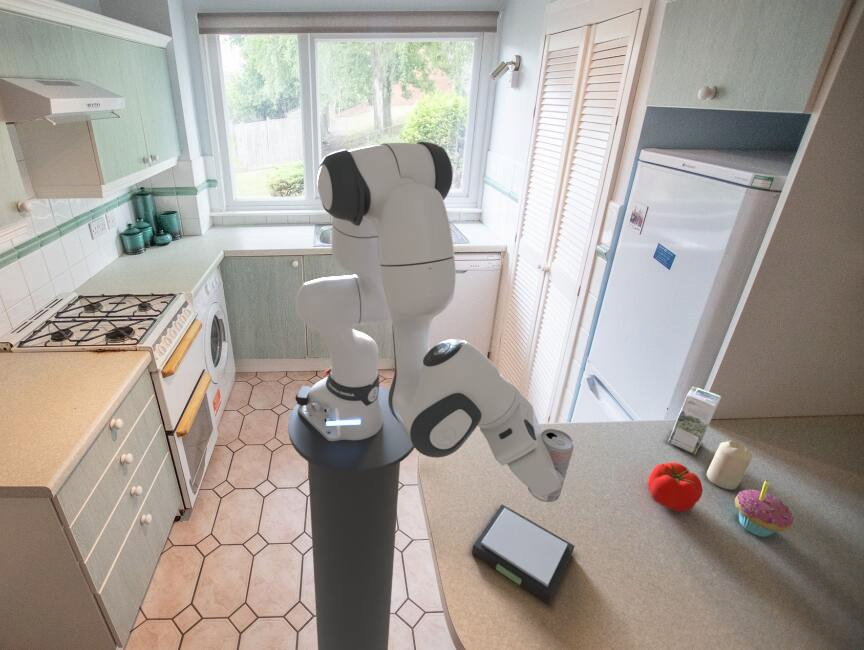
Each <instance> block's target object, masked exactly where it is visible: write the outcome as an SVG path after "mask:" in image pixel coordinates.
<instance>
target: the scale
mask: <svg viewBox="0 0 864 650" xmlns="http://www.w3.org/2000/svg"><path fill="white" fill-rule="evenodd" d="M574 549H575V544H573V543H570V542H569V541H567V540H565V539H564V538H562V537H560V536H559V535H556V534H555V533H553V532H552V531H549V530H547V528H545V527H543V526H541V525H539V524H538V523H536V522H534V521H532V520H530V519H529V518H527V517H525V516H524V515H522V514H520V513H519V512H517V511H514V510H513V509H511V508H510V507H508V506H507V505H504V504H502V503H501V505H499V507H498V509H496V511H495V513H494V514H493V516H492V517H491V519H490V520H489V521H488V523H487V525H486V526H485V527H484V529H483V530H482V531H481V533H480V535H479V536H478V537H477V539H476V540H475V542H474V543H473V545H472V550H471V554H472V555H473V556H475V557H476V558H477V559H479V560H481V561H482V562H484V563H485V564H486V565H488V566H490V567H491V568H493V569H494V570H496V571H498V572H499V573H500V574H502V575H503V576H505V577H506V578H508V579H509V580H510V581H512V582H514V583H515V584H517V585H518V586H520V587H521V588H522V589H524V590H526V591H527V592H529V593H530V594H532V595H533V596H535V598H538V599H539V600H541V601H542V602H544V603H545V604H547V605H550V603H551V600H552V598H553V596H554V594H555V591H556V590H557V588H558V586H559V584H560V581H561V579H562V577H563V575H564V572H565V570H566V568H567V566H568V564H569V562H570V560H571V558H572V556H573V552H574Z"/></svg>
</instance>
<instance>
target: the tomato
mask: <svg viewBox="0 0 864 650" xmlns="http://www.w3.org/2000/svg"><path fill="white" fill-rule="evenodd" d="M647 489H648V490H649V491H650V496H651V497H652V498H653V500H654V501H655V502H657V503H658V504H659V505H661V506H663V507H665V508H668V509H671V510H672V511H676V512H687V511H690V510H692V509H693V508H694V507H695V505H696V503H697V502H699V500H700V499H701V498H702V495H703V485H702V481H701V479H700V478H699V477H698V476H697V474H696V473H694V472H690V469H688V468H687V467H686V466H685V465H683V464H682V463H678V462H666V463H660V464H657V465H656V466H655V467H653V469H652V470H651V472H650V474H649V476H648V480H647Z"/></svg>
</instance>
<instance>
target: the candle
mask: <svg viewBox="0 0 864 650" xmlns="http://www.w3.org/2000/svg"><path fill="white" fill-rule="evenodd" d="M753 457H754V455H753V453H752V452H751V451H750V449H749V448H748V447H747V446H746V445H745V444H744V443H743V442H741V441H739V440H734V439H733V440H725V441H722V442H720V443H719V445H718V447H717V449H716V452H715V454H714V456H713V458H712V460H711V463H710V464H709V467H708V468H707V471H706V477H707V479H708V480H709V481H710V482H711V483H712V484H714V485H715V486H717V487H719V488H722V489H724V490H728V491H729V490H730V491H731V490H736V489H737V488H738V487H739V485H740V483H741V481H742V479H743V477H744V475H745V473H746V472H747V469H748V467H749V465H750V463H751V462H752V459H753Z"/></svg>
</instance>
